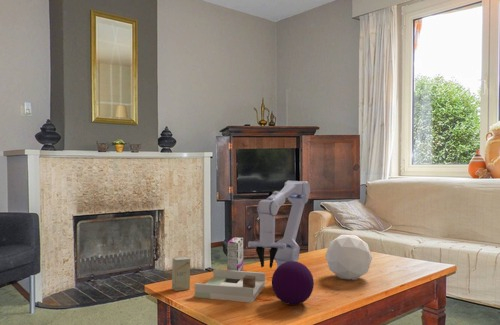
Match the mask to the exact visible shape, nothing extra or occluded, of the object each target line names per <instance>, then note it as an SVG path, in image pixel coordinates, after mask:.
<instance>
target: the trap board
mask: <svg viewBox="0 0 500 325" xmlns="http://www.w3.org/2000/svg"><path fill="white" fill-rule="evenodd" d="M212 273H213V274H212V275H213V276H212V277H211V278H209V280H207V281H206V282H205V283H200V282H199V283H198V282H195V283H194V298H199V299H200V298H201V299H207V300H209V299H210V300H222V301H230V302H231V301H233V302H243V303H251V304H252V303H254V301H255V299H256V298H257V297H258V296H259V294H260V293H261V291H262V290H263V289H264V287H265V286H266V272H259V271H258V272H257V271H247V270H245V271H244V270H243V271H234V270H227V269H221V268H220V269H219V268H214V269H213V272H212ZM245 275H250V276H255V287H254V288H248V287H243V277H244V276H245Z"/></svg>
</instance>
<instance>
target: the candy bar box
mask: <svg viewBox="0 0 500 325" xmlns="http://www.w3.org/2000/svg"><path fill="white" fill-rule="evenodd" d="M226 249H227V252H226V254H227V255H226V256H227V257H226V258H227V259H226V262H227V265H226V266H227V267H226V268H227V269H226V270H234V271H244V237H236V236H235V237H232V238H230V240H228V241H227V247H226Z"/></svg>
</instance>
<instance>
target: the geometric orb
mask: <svg viewBox="0 0 500 325" xmlns="http://www.w3.org/2000/svg"><path fill="white" fill-rule="evenodd" d="M370 250H371V249H370V247H369V244H368V243H367V242H366V241H364V240H363V239H361V238H360V237H359V236H357V235H356V234H339V236H336V237H335V238H334V239H333V240H331V241H330V242H329V244H328V247H327V249H326V253H325V259H326V261H327V265H328V270H329V271H330V272H332V273H333V274H334V275H336V276H337V277H338V278H339V279H341V280H351V279H352V280H353V281H356V280H358V279H359V278H360V277H362V276H363V275H365V274H367V273H368V272H369V269H370V266H371V263H372V261H373V256H372V254H371V251H370Z"/></svg>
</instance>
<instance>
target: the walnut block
mask: <svg viewBox="0 0 500 325" xmlns="http://www.w3.org/2000/svg"><path fill="white" fill-rule="evenodd" d="M243 287H248V288H254V287H255V276H250V275H245V276H244V277H243Z"/></svg>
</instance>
